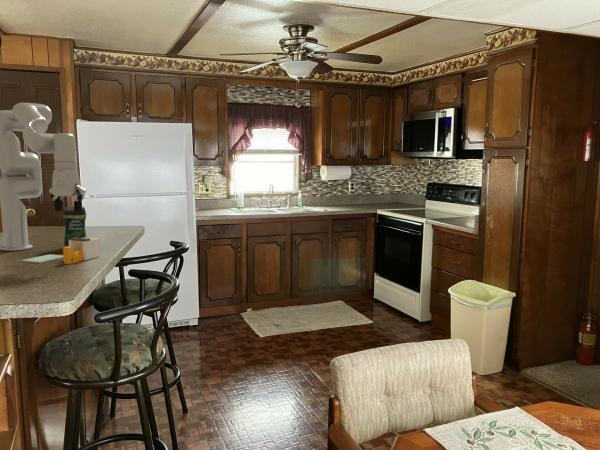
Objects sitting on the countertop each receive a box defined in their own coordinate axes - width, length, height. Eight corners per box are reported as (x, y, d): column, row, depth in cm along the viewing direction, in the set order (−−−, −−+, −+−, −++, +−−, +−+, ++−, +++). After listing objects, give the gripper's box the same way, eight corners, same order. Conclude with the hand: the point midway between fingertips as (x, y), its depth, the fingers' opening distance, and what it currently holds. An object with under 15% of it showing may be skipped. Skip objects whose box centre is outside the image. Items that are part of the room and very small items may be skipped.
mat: (22, 261, 194) (22, 260, 194) (49, 255, 206) (49, 254, 206) (40, 263, 191) (40, 261, 191) (66, 257, 203) (66, 255, 203)
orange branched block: (81, 257, 203) (80, 242, 202) (90, 258, 202) (89, 242, 201) (60, 263, 191) (59, 247, 191) (69, 264, 190) (68, 247, 190)
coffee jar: (63, 249, 220) (61, 207, 218) (65, 246, 228) (63, 206, 225) (87, 248, 224) (85, 207, 221) (88, 245, 231) (86, 205, 229)
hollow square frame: (69, 258, 200) (68, 238, 199) (84, 255, 207) (83, 235, 206) (85, 260, 197) (84, 239, 196) (100, 256, 205) (99, 236, 204)
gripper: (40, 166, 190) (43, 211, 192) (75, 166, 183) (78, 212, 185) (56, 166, 197) (59, 209, 199) (90, 166, 190) (93, 211, 192)
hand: (68, 211), depth 192 cm, fingers open, 9 cm apart
